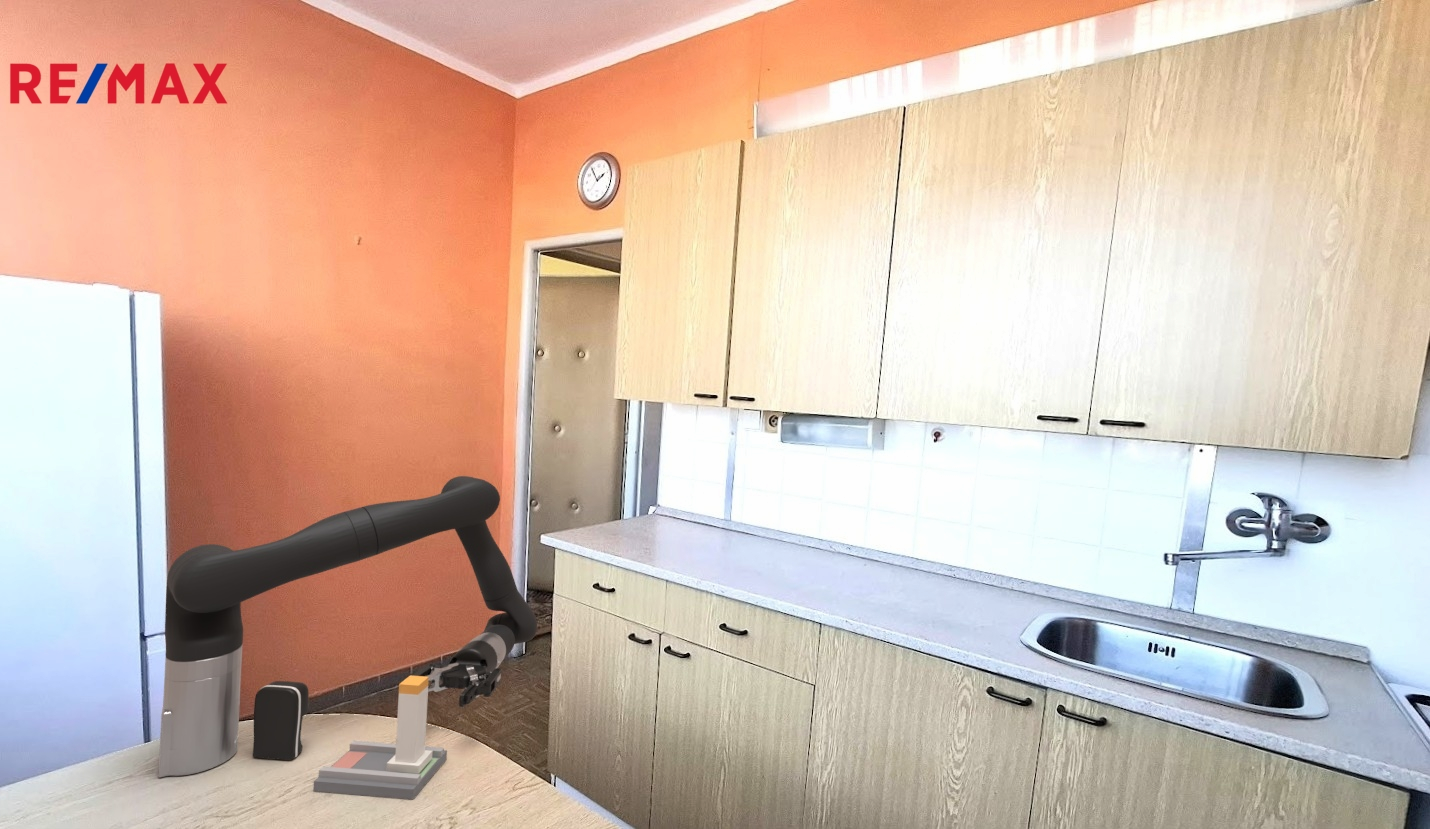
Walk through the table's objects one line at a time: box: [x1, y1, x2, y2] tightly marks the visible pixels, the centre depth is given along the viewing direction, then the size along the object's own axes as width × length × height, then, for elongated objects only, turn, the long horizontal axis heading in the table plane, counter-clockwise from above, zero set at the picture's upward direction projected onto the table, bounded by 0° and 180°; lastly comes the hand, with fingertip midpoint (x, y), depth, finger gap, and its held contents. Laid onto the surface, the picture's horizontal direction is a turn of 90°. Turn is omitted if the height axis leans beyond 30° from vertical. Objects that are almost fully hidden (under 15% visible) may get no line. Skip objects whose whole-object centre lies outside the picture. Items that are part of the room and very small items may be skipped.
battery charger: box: [252, 680, 310, 761], centre depth 96 cm, size 7×4×11 cm, turn 89°
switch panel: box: [312, 740, 448, 800], centre depth 92 cm, size 15×10×2 cm, turn 88°
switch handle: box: [386, 675, 433, 774], centre depth 92 cm, size 5×4×13 cm
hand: (436, 699), depth 99 cm, fingers open, 8 cm apart
